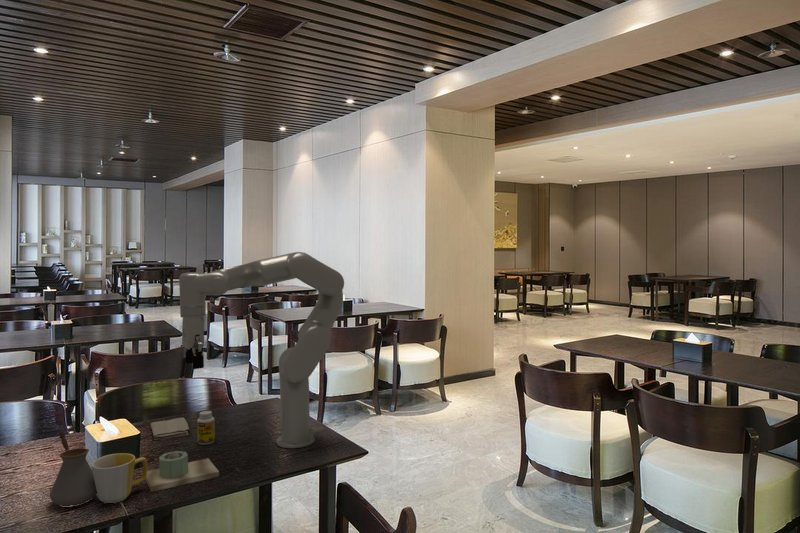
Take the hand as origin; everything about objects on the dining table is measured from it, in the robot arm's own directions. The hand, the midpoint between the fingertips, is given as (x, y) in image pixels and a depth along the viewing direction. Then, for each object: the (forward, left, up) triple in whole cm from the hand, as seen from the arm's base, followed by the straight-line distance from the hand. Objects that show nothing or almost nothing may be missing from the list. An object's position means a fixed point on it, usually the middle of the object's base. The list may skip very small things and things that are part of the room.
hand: (194, 365), depth 179 cm
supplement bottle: (-5, -9, -28) cm, 30 cm away
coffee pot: (+35, +12, -28) cm, 47 cm away
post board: (+8, +16, -28) cm, 33 cm away
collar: (+10, +16, -27) cm, 33 cm away
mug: (+24, +21, -28) cm, 43 cm away
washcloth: (+3, -29, -29) cm, 41 cm away
